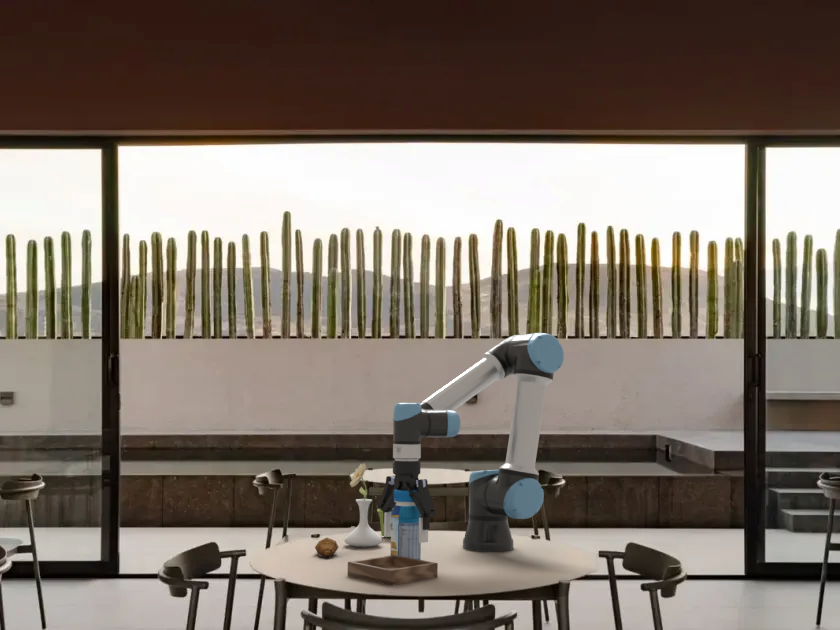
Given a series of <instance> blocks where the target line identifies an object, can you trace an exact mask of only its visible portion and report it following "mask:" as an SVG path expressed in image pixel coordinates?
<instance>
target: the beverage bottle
mask: <svg viewBox="0 0 840 630" xmlns="http://www.w3.org/2000/svg"><path fill="white" fill-rule="evenodd" d="M412 492H417V490H414V491H412ZM394 502H396V504H395V505H394V507H393V510H392V512H391V517H392V521H391V523H390V528H391V538H390V555H398V556H403V557H408V558H413V559H419V560H422V559H421V550H422V549H421V546H422V545H421V544H422V543H419V518H420V516H421V514H420V512H419V511H418V509H417V507H416V505H415V503H414V501H413V499H412V498H411V497H410V496H409V491H401V490H397V489H395V490H394Z"/></svg>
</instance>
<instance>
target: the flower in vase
mask: <svg viewBox="0 0 840 630" xmlns="http://www.w3.org/2000/svg"><path fill="white" fill-rule="evenodd" d="M366 470H367V469H366V464H365V463H360V465H359V466H358V467H356V468H355V470H354V473H353V475H352V476H351V478H350V480H351V481H350V482H349V485H350V487H351V488H354V487H355V486H357V485H358V484H359V483H360V481H361V480H362V482H363V485H364V488H363V487H362V486H360V488H359V489H358V490H359V493H360V494H361V495H363V498H359V499H358V498H356V499H355V502H356V503H357V505H358V508H359V509H358V510H359V523H358V525H357V526H356V527H355V528H354V529H353V530H352V531H351V532H349V534H347V535H346V537H345V538H344V543H345V544H346V545H348V546H351V547H356V548H357V547H359V548H370V547H374V546H378V545H380V544H382V542H383V539H382V538H383V537H382V536H380V534H378V533H377V532H376V531H375V530H374V529H373V528H371V526H370V525H369V522H368V514H369V508H370V504H371V503H372V501H373V499H371V498H370V499H369V498H366V497H367V495H368V489H367V486H366V483H365V479H363V477H364V475H365V472H366Z"/></svg>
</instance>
